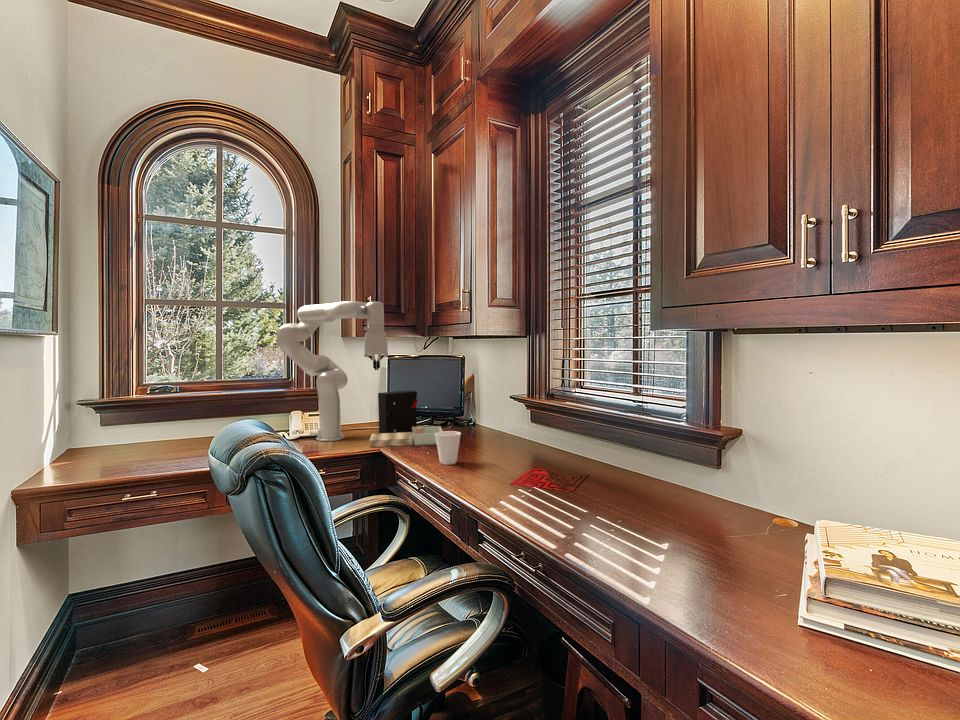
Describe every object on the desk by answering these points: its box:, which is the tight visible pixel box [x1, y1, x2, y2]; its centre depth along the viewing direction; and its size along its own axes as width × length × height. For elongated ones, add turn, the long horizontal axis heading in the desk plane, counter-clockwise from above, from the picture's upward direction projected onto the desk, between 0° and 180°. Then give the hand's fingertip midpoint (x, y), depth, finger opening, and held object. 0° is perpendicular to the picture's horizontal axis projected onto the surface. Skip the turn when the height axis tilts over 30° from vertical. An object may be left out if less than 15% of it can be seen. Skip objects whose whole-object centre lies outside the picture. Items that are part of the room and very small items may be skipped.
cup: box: [434, 430, 462, 466], centre depth 186 cm, size 10×10×11 cm
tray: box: [411, 425, 444, 447], centre depth 227 cm, size 13×17×5 cm
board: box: [369, 432, 414, 448], centre depth 224 cm, size 18×15×3 cm
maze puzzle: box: [509, 468, 574, 492], centre depth 163 cm, size 20×20×1 cm
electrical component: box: [377, 389, 419, 434], centre depth 248 cm, size 18×10×20 cm, turn 128°
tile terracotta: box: [417, 425, 424, 434], centre depth 230 cm, size 5×5×3 cm
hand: (376, 369), depth 229 cm, fingers closed
